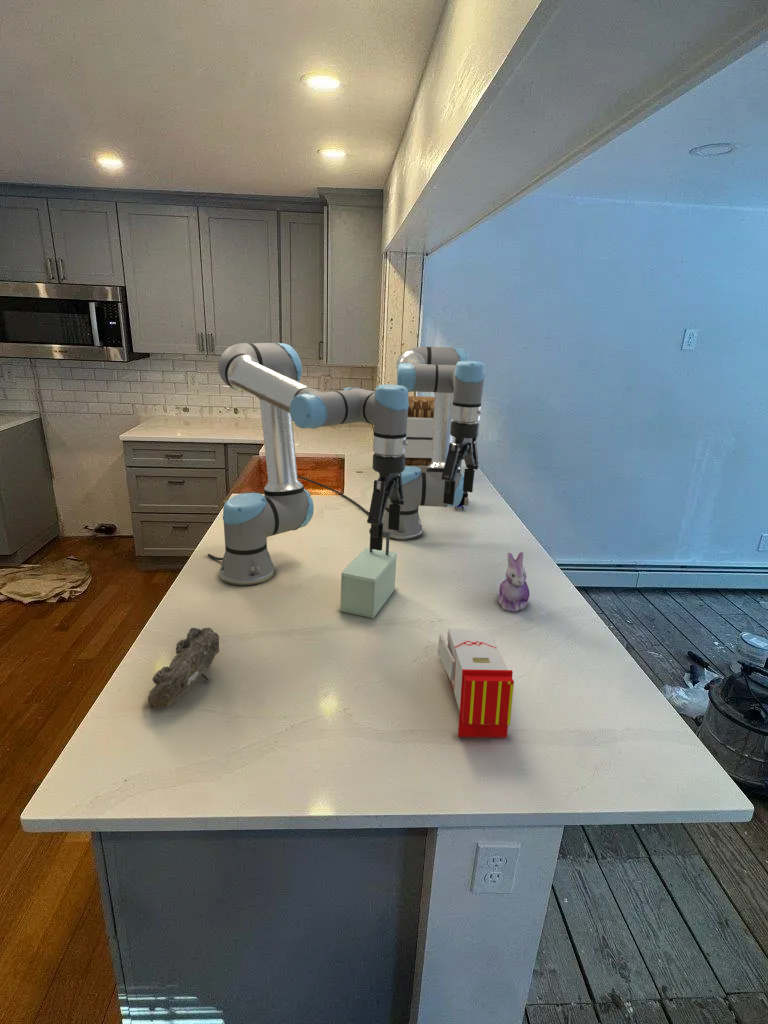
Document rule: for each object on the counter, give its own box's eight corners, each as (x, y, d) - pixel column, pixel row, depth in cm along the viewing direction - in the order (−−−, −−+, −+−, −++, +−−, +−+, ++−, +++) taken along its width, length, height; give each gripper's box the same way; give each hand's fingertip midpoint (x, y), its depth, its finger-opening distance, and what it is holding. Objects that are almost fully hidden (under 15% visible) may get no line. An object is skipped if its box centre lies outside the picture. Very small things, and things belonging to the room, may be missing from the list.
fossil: (174, 630, 128) (220, 599, 123) (204, 658, 131) (250, 629, 126) (125, 701, 108) (178, 668, 103) (161, 733, 111) (215, 702, 106)
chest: (364, 583, 163) (365, 551, 160) (394, 589, 160) (396, 557, 157) (340, 611, 148) (341, 576, 144) (373, 618, 145) (374, 583, 142)
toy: (488, 613, 130) (523, 677, 101) (484, 667, 133) (517, 744, 104) (435, 612, 130) (455, 676, 101) (432, 666, 133) (451, 743, 103)
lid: (366, 550, 160) (367, 524, 157) (397, 556, 157) (398, 529, 155) (341, 576, 144) (341, 547, 142) (374, 583, 141) (376, 553, 139)
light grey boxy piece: (382, 463, 289) (386, 382, 275) (445, 464, 293) (451, 384, 279) (390, 482, 257) (394, 392, 243) (460, 483, 261) (468, 394, 247)
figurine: (511, 616, 149) (518, 564, 143) (487, 598, 157) (493, 549, 152) (539, 609, 153) (547, 558, 148) (514, 592, 161) (521, 544, 156)
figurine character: (468, 514, 225) (463, 498, 239) (470, 497, 222) (465, 482, 235) (451, 514, 225) (447, 498, 238) (453, 497, 222) (449, 481, 235)
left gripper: (388, 468, 118) (383, 561, 126) (418, 444, 141) (413, 524, 148) (354, 464, 121) (352, 555, 128) (390, 441, 143) (386, 520, 150)
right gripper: (460, 430, 138) (452, 512, 146) (494, 416, 159) (486, 488, 166) (432, 426, 142) (426, 506, 149) (469, 413, 162) (463, 484, 170)
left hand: (385, 538), depth 138 cm, fingers open, 13 cm apart
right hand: (458, 497), depth 158 cm, fingers open, 13 cm apart
